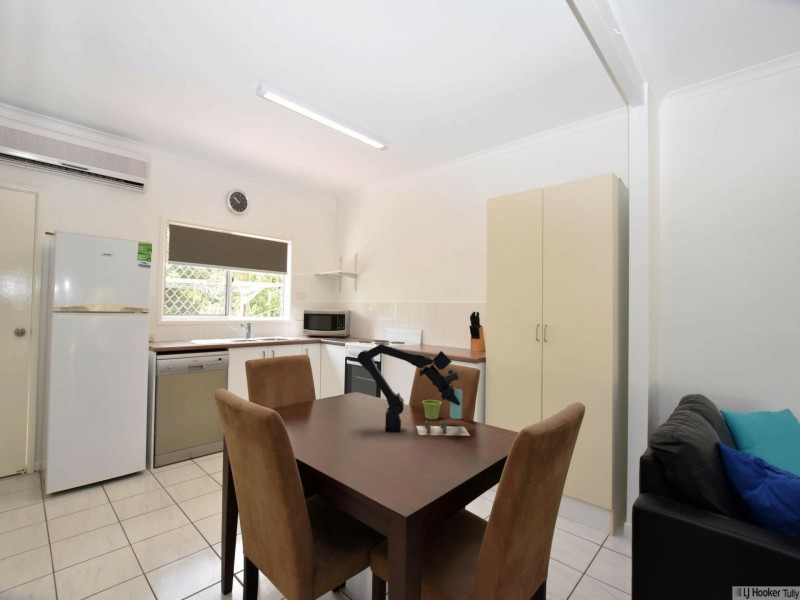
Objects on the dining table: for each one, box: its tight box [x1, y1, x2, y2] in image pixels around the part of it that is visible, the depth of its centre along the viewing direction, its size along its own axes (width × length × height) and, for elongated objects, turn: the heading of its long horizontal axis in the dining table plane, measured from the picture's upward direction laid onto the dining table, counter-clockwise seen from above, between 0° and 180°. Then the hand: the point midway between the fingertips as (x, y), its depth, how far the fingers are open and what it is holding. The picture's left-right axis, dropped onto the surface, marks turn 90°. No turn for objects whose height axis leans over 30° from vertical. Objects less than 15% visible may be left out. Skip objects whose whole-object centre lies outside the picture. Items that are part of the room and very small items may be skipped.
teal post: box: [449, 388, 464, 420], centre depth 166 cm, size 4×4×12 cm
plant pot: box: [422, 399, 442, 420], centre depth 185 cm, size 9×9×9 cm
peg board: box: [415, 420, 471, 437], centre depth 166 cm, size 22×12×4 cm, turn 93°
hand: (459, 403), depth 166 cm, fingers closed on teal post, 5 cm apart
